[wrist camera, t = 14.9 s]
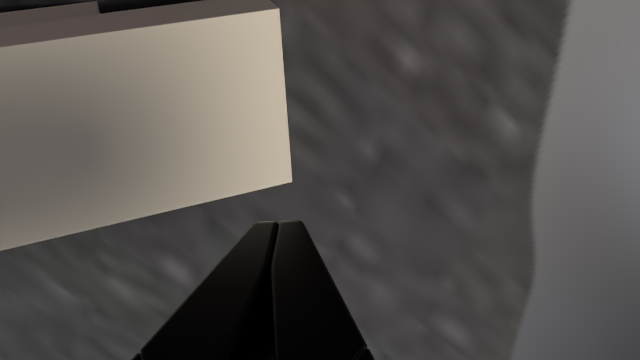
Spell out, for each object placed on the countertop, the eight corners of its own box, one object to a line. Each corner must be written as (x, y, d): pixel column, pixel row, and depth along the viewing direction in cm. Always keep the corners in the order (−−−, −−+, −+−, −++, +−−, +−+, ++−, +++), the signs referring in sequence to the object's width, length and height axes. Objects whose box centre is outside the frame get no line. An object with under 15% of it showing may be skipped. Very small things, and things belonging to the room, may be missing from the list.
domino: (279, 8, 13) (-168, 70, 10) (292, 181, 16) (-58, 264, 13) (261, -8, 14) (-141, 45, 11) (276, 155, 17) (-46, 226, 14)
